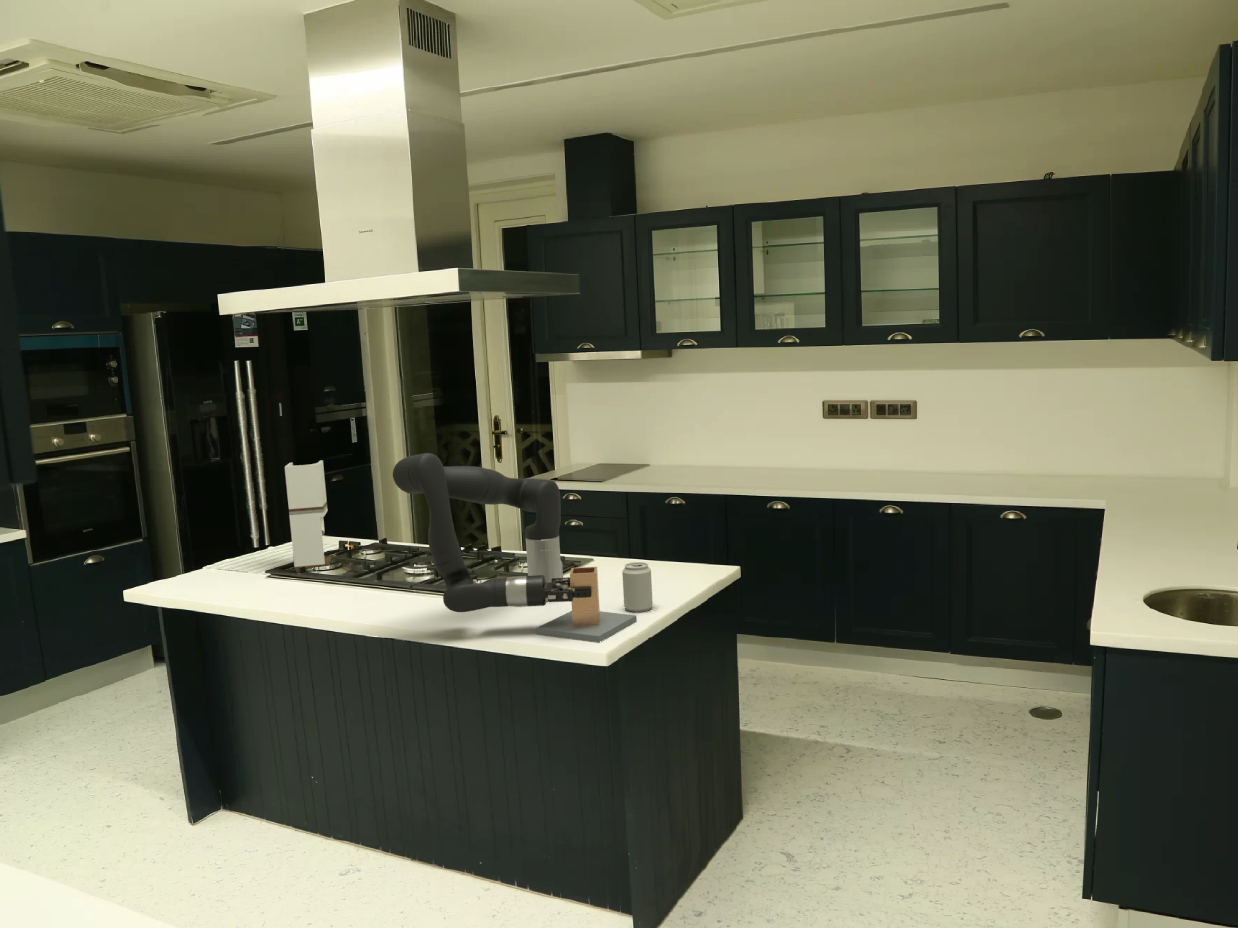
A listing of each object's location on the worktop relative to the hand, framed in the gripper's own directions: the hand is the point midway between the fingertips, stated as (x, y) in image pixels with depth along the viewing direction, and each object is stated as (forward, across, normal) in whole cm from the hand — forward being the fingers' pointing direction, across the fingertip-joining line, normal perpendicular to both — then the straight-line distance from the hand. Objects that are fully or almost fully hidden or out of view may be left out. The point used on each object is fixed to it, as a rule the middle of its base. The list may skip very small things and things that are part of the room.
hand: (591, 587), depth 239 cm
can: (+11, +14, +10) cm, 21 cm away
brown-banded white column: (-96, +83, +10) cm, 127 cm away
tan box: (-2, 0, +8) cm, 9 cm away
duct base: (-2, 0, +10) cm, 10 cm away
